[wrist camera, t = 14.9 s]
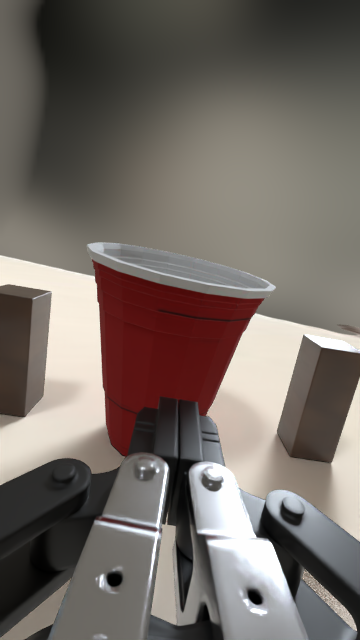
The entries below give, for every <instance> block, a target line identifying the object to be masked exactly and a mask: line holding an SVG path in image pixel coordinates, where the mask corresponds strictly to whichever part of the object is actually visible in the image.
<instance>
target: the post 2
mask: <svg viewBox="0 0 360 640" xmlns="http://www.w3.org/2000/svg"><path fill="white" fill-rule="evenodd" d="M359 378H360V351H359V350H358V349H356V348H354V347H353V346H351V345H349V344H347V343H346V342H344V341H340V340H335V339H329V338H323V337H317V336H311V335H303V338H302V342H301V346H300V349H299V353H298V357H297V360H296V364H295V367H294V371H293V375H292V378H291V382H290V386H289V389H288V393H287V396H286V400H285V404H284V407H283V411H282V415H281V418H280V422H279V425H278V429H277V433H278V435H279V436H280V438H281V440H282V442H283V444H284V446H285V448H286V449H287V451H288V453H289V455H290V456H291V457H298V458H305V459H311V460H318V461H325V462H332V460H333V457H334V454H335V451H336V448H337V445H338V442H339V439H340V436H341V433H342V430H343V427H344V424H345V420H346V417H347V414H348V411H349V408H350V405H351V402H352V399H353V396H354V393H355V390H356V387H357V384H358V381H359Z"/></svg>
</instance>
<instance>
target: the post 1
mask: <svg viewBox="0 0 360 640" xmlns="http://www.w3.org/2000/svg"><path fill="white" fill-rule="evenodd" d="M51 294H52V292H51V291H45V290H39V289H33V288H27V287H21V286H15V285H9V284H8V285H4V286H0V413H1V414H8V415H15V416H22V417H25V416H26V415H27V414H28V412H29V411H30V410H31V409H32V408H33V407H34V406H35V405H36V403H37V402H38V401H39V400H40V399H41V398H42V397H43V394H44V381H45V369H46V356H47V344H48V332H49V319H50V307H51Z"/></svg>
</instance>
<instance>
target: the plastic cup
mask: <svg viewBox="0 0 360 640" xmlns="http://www.w3.org/2000/svg"><path fill="white" fill-rule="evenodd" d="M87 249H88V254H89V255H90V256H91V258H92V261H93V265H94V269H95V282H96V283H97V300H98V302H99V311H100V333H101V355H102V377H103V388H104V391H105V410H106V426H107V429H108V435H109V438H110V441H111V444H112V445H113V446H114V447H115V448H116V449H117V450H118V451H119V452H120V453H121V454H122V455H125V456H127V454H128V450H129V446H130V442H131V438H132V433H133V430H134V425H135V421H136V417H137V413H138V412H139V411H140V410H141V409H143V408H144V407H149V408H155V409H158V404H159V398H160V396H162V397H168V398H175V399H178V402H179V399H181V400H188V401H194V402H198V408H199V415H201V416H206V414H207V412H208V409H209V408H210V406H211V405H212V403H213V401H214V399H215V396H216V394H217V392H218V389H219V387H220V385H221V382H222V380H223V378H224V375H225V373H226V371H227V368H228V366H229V364H230V361H231V359H232V357H233V354H234V352H235V350H236V347H237V345H238V343H239V340H240V338H241V336H242V333H243V332H244V331H245V330H246V328H247V326H248V324H249V321H250V319H251V317H252V316H253V315H254V314H255V312H256V310H257V308H258V306H259V305H260V304H261V303H262V301H263V300H264V299H265V298H268V297H269V296H270V295H271V294H272V292H273V291H274V289H275V286H274V285H272V284H270V283H269V282H268V281H266V280H264V279H261V278H259V277H256V276H254V275H251V274H249V273H246V272H243V271H239V270H236V269H233V268H230V267H227V266H223V265H220V264H216V263H212V262H209V261H205V260H201V259H197V258H193V257H188V256H184V255H180V254H176V253H171V252H166V251H161V250H156V249H150V248H145V247H139V246H132V245H124V244H117V243H98V242H97V243H92V244H88V245H87Z"/></svg>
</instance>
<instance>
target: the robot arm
mask: <svg viewBox="0 0 360 640" xmlns="http://www.w3.org/2000/svg"><path fill="white" fill-rule="evenodd" d="M167 512H168V520H167V525H173V526H176V536H175V541H174V546H173V568H174V585H175V601H176V618H177V625H173V624H171V623H169V622H166V621H164V620H162V619H160V618H157V617H155V616H153V615H151V608H152V600H153V593H154V586H155V579H156V572H157V565H158V557H159V550H160V543H161V536H162V524H165V523H166V517H167ZM305 569H306V570H307V571H308V572H309V573H310V574H311V575H312V576H313V577H314V578H315V579H316V580H317V581H318V582H319V583H320V584H321V585H322V586H323V587H324V588H325V589H327V590H328V591H329V592H330V593H331V594H332V595H333V596H334V597H335V598H336V599H337V600H338V601H339V602H340V603H341V604H342V605H343V606H344V607H345V608H346V609H347V610H348V611H349V613H350V614H351V616H352V617H353V619H354V621H355V624H356V627H357V631H355V630H353V629H352V628H351V627H350V626H348V625H347V624H346V623H345V622H344V621H343V620H342V619H341V618H340V617H339V616H338V615H337V614H336V613H335V612H334V611H333V610H332V609H331V608H330V607H329V606H328V605H327V604H326V603H325V602H324V601H323V600H322V599H321V598H320V597H319V596H318V595H317V594H316V593H315V592H314V591H313V590H312V589H311V588H310V587H309V586H308V585H307V584H306V583H305V582H304V581H303V580H302V576H303V573H304V570H305ZM71 578H72V579H71ZM70 579H71V581H70V584H69V586H68V589H67V591H66V594H65V596H64V599H63V601H62V604H61V606H60V609H59V612H58V614H57V617H56V619H55V622H54V624H52V625H50V626H48V627H46V628H44V629H42V630H40V631H38V632H36V633H35V634H33V635H31V636H30V637H28V638H27V639H25V640H360V542H359V541H358V540H356V539H355V538H354V537H353V536H351V535H350V534H349V533H347V532H346V531H345V530H344V529H342V528H341V527H340V526H338V525H337V524H336V523H335V522H333V521H332V520H331V519H329V518H328V517H327V516H326V515H324V514H323V513H322V512H321V511H319V510H318V509H317V508H315V507H314V506H313V505H312V504H310V503H309V502H308V501H306V500H305V499H304V498H302V497H301V496H299V495H297V494H295V493H293V492H290V491H286V490H273V491H271V492H270V493H268V495H267V497H266V500H264V499H261V498H259V497H256V496H254V495H251V494H249V493H247V492H245V491H243V490H241V489H240V488H239V487H238V485H237V482H236V479H235V477H234V476H233V474H232V473H231V472H230V471H229V470H228V469H226V468H225V463H224V458H223V454H222V449H221V444H220V440H219V436H218V431H217V426H216V424H215V423H214V422H213V420H212V419H211V418H210V417H208V416H201V415H199V408H198V402H194V401H188V400H181V399H179V402H178V399H175V398H168V397H162V396H160V398H159V404H158V409H155V408H149V407H144V408H143V409H141V410H140V411H139V412H138V413H137V417H136V421H135V425H134V430H133V433H132V438H131V442H130V446H129V450H128V454H127V457H126V458H125V459H124V460H123V461H122V463H121V466H120V467H118V468H117V469H115V470H112V471H109V472H105V473H98V474H91V470H90V468H89V467H88V466H87V465H86V464H85V463H84V462H82V461H80V460H76V459H71V458H63V459H57V460H53V461H51V462H49V463H46V464H44V465H42V466H40V467H38V468H36V469H34V470H32V471H30V472H27V473H25V474H23V475H21V476H19V477H17V478H15V479H13V480H11V481H8V482H6V483H4V484H2V485H0V637H2V636H3V635H4V634H5V633H6V632H8V631H9V630H10V629H11V628H12V627H14V626H15V625H16V624H17V623H18V622H20V621H21V620H22V619H23V618H24V617H25V616H27V615H28V614H29V613H30V612H31V611H33V610H34V609H35V608H36V607H37V606H39V605H40V604H41V603H42V602H43V601H45V600H46V599H47V598H48V597H49V596H50V595H52V594H53V593H54V592H55V591H56V590H58V589H59V588H60V587H61V586H62V585H64V584H65V583H66V582H67V581H68V580H70Z"/></svg>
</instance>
